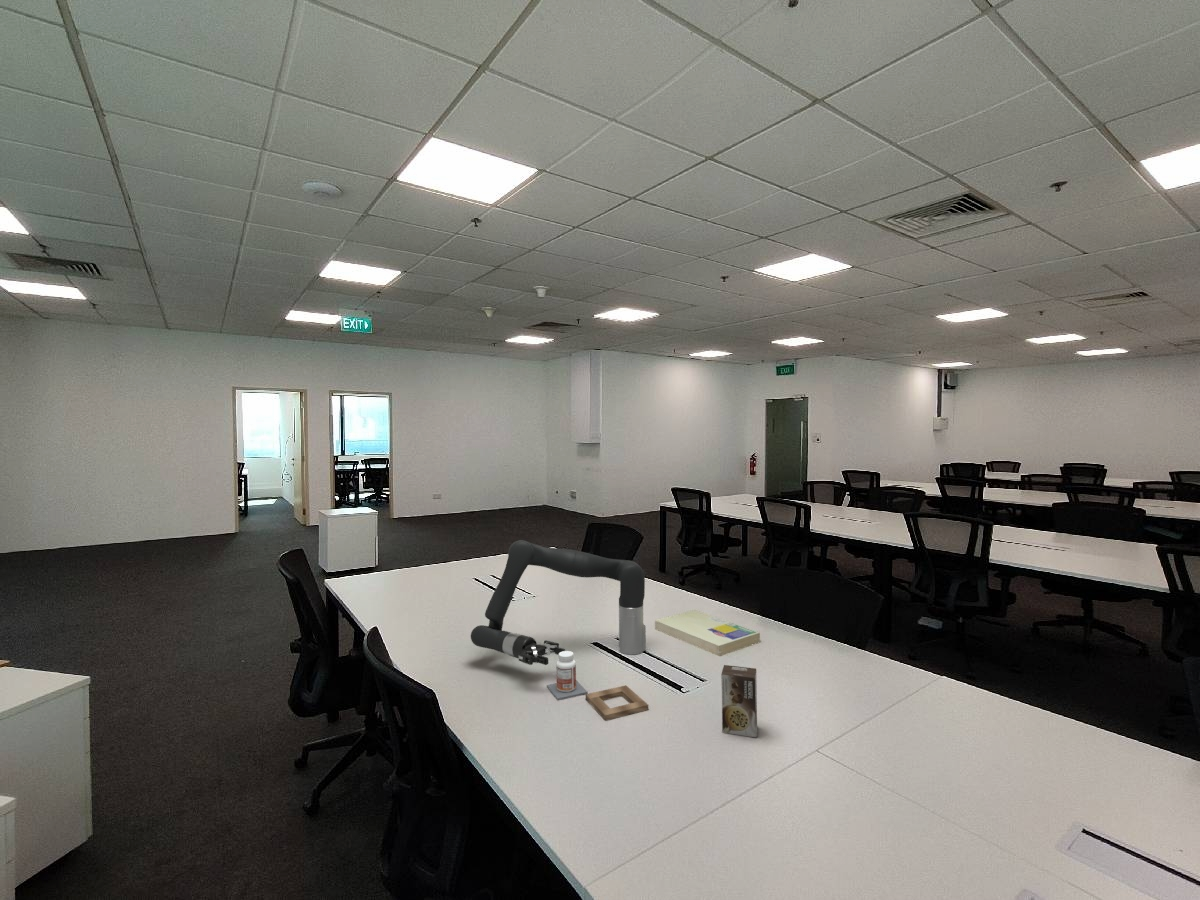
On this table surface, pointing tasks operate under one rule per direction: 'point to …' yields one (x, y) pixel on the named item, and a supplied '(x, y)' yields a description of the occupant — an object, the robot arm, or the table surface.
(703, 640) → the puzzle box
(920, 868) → the table surface
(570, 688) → the pill bottle
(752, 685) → the coffee box
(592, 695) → the board
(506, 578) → the robot arm
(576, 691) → the pad
